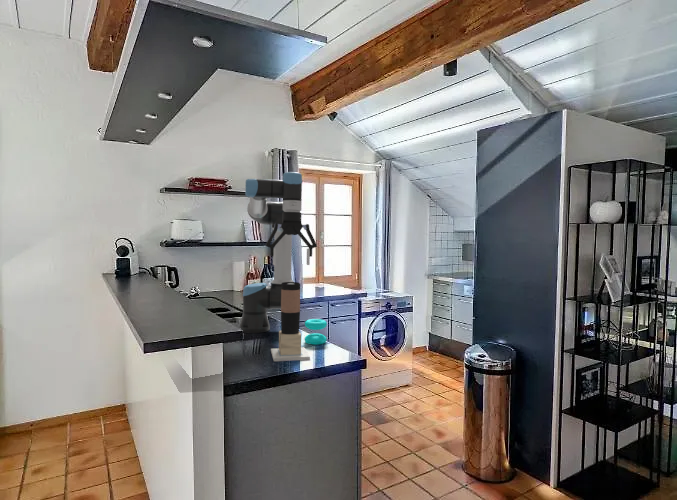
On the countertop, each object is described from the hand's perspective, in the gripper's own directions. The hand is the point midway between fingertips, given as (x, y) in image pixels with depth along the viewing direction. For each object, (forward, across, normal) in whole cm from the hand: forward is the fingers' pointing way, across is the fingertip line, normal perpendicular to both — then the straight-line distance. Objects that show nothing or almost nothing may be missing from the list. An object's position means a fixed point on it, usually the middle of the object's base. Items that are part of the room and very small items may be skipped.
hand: (291, 264), depth 177 cm
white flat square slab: (+37, 0, 0) cm, 37 cm away
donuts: (+37, +14, +19) cm, 44 cm away
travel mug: (+28, 0, 0) cm, 28 cm away
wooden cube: (+35, 0, 0) cm, 35 cm away
